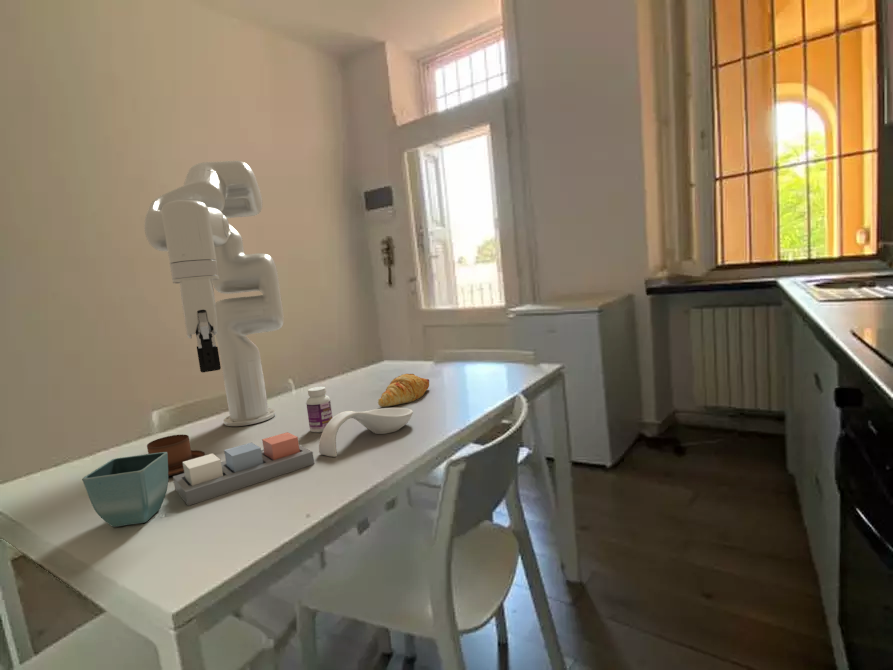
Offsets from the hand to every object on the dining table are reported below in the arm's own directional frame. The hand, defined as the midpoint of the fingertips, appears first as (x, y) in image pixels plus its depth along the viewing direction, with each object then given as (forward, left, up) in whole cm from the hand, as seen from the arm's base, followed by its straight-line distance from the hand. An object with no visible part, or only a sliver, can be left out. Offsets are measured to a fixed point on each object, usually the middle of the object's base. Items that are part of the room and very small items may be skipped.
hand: (210, 368), depth 94 cm
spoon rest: (+3, +28, -21) cm, 35 cm away
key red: (+3, +9, -18) cm, 21 cm away
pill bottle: (-12, +24, -21) cm, 34 cm away
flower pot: (+6, -16, -21) cm, 27 cm away
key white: (+3, -5, -18) cm, 19 cm away
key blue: (+3, +2, -18) cm, 19 cm away
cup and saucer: (-14, -6, -21) cm, 26 cm away
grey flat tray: (+3, +2, -20) cm, 21 cm away
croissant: (-18, +52, -21) cm, 58 cm away
